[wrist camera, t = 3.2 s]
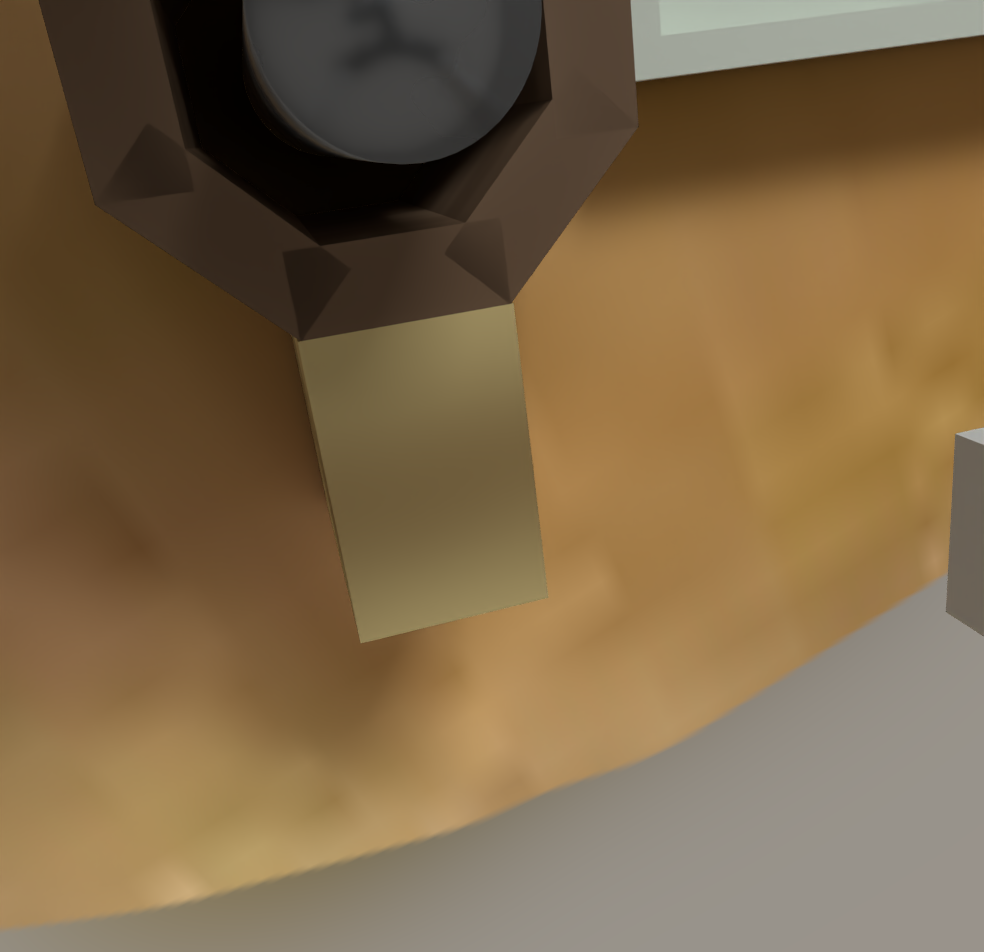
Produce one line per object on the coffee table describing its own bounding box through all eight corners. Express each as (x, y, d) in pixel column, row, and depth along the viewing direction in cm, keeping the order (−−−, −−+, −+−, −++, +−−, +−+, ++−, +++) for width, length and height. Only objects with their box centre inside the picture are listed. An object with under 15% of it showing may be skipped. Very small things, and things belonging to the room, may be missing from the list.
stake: (261, 166, 18) (279, 183, 9) (224, -8, 16) (209, -160, 8) (413, 144, 18) (556, 144, 10) (388, -25, 17) (523, -183, 9)
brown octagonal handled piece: (56, -145, 15) (-48, -308, 10) (488, -176, 17) (610, -333, 11) (229, 530, 20) (225, 676, 14) (556, 460, 21) (666, 568, 16)
